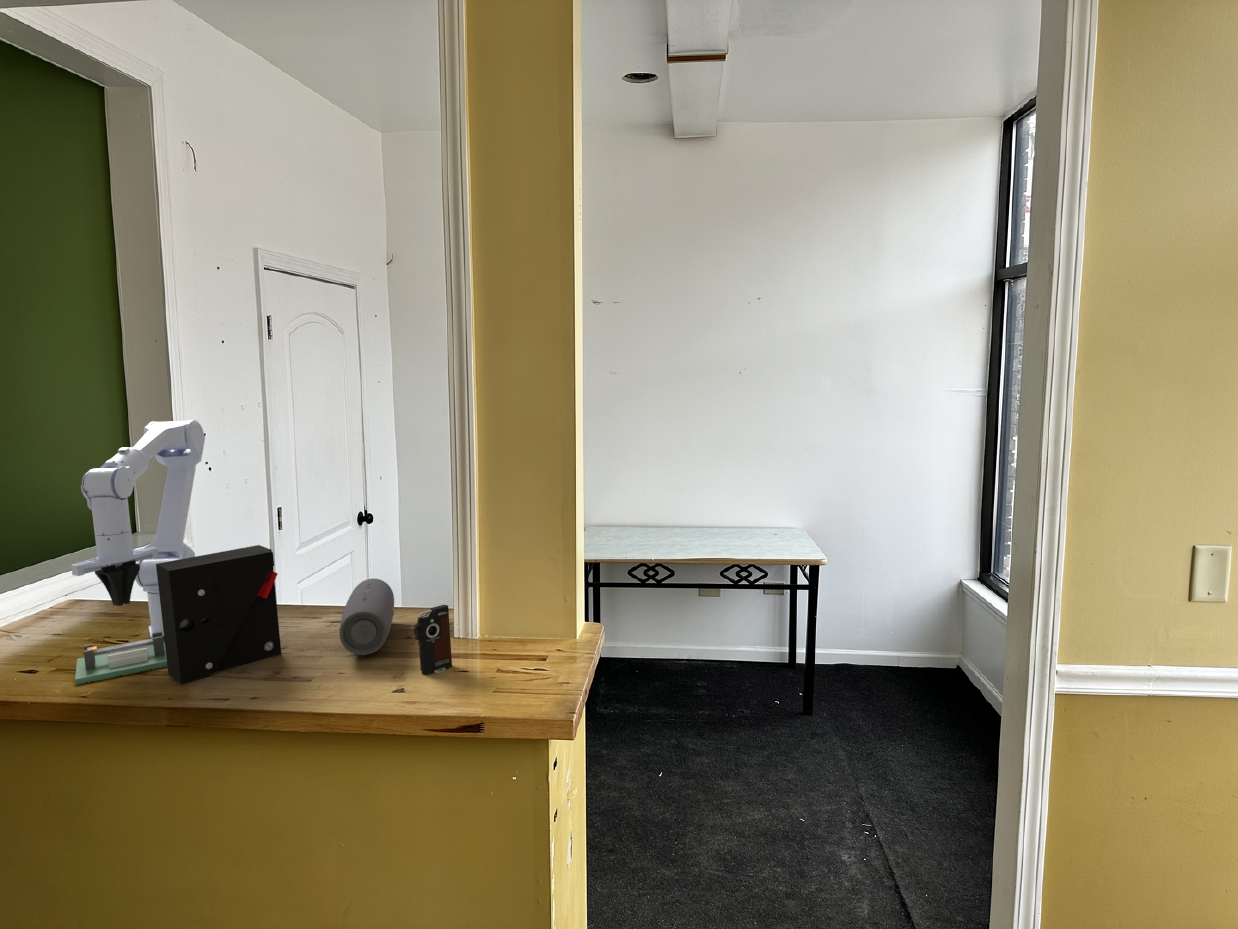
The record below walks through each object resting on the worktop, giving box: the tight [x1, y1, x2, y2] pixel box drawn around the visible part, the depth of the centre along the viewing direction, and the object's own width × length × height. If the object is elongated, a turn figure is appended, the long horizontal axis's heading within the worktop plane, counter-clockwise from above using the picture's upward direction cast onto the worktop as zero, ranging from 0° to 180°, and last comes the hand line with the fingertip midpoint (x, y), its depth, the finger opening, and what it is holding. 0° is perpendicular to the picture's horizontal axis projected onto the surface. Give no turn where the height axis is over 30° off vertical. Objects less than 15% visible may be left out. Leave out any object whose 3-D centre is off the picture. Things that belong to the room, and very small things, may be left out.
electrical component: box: [156, 544, 282, 685], centre depth 146 cm, size 18×10×20 cm, turn 135°
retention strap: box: [87, 638, 153, 656], centre depth 148 cm, size 12×2×1 cm, turn 122°
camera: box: [413, 604, 453, 676], centre depth 140 cm, size 6×3×11 cm, turn 127°
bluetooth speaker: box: [338, 578, 395, 656], centre depth 156 cm, size 23×9×10 cm, turn 13°
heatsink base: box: [74, 631, 168, 686], centre depth 148 cm, size 16×12×4 cm
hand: (121, 604), depth 150 cm, fingers closed
